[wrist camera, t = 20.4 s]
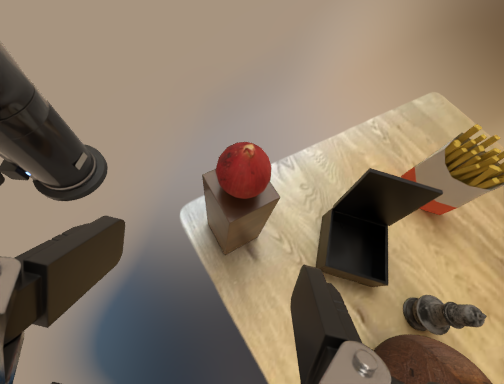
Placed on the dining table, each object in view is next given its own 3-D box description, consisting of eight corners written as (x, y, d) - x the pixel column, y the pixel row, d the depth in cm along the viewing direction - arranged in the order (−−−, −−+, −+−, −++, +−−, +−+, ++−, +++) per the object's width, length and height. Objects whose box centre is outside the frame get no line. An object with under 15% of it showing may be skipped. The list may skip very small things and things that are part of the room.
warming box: (372, 287, 43) (388, 285, 39) (315, 269, 43) (325, 265, 39) (373, 231, 48) (387, 225, 44) (322, 216, 48) (332, 207, 44)
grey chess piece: (439, 319, 42) (515, 323, 31) (419, 340, 40) (494, 352, 29) (414, 289, 43) (478, 283, 33) (395, 308, 41) (456, 308, 31)
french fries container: (429, 219, 51) (526, 179, 35) (392, 182, 54) (466, 129, 38) (440, 209, 52) (538, 167, 36) (404, 173, 56) (479, 120, 40)
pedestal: (225, 255, 42) (229, 223, 26) (207, 222, 44) (201, 174, 28) (257, 237, 44) (280, 197, 28) (239, 206, 46) (251, 153, 30)
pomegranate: (211, 204, 26) (209, 166, 19) (221, 162, 29) (222, 116, 22) (261, 213, 27) (277, 179, 20) (266, 171, 29) (282, 127, 22)
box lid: (443, 194, 33) (442, 190, 33) (369, 171, 33) (369, 167, 34) (389, 226, 43) (389, 222, 43) (332, 208, 43) (333, 205, 43)
